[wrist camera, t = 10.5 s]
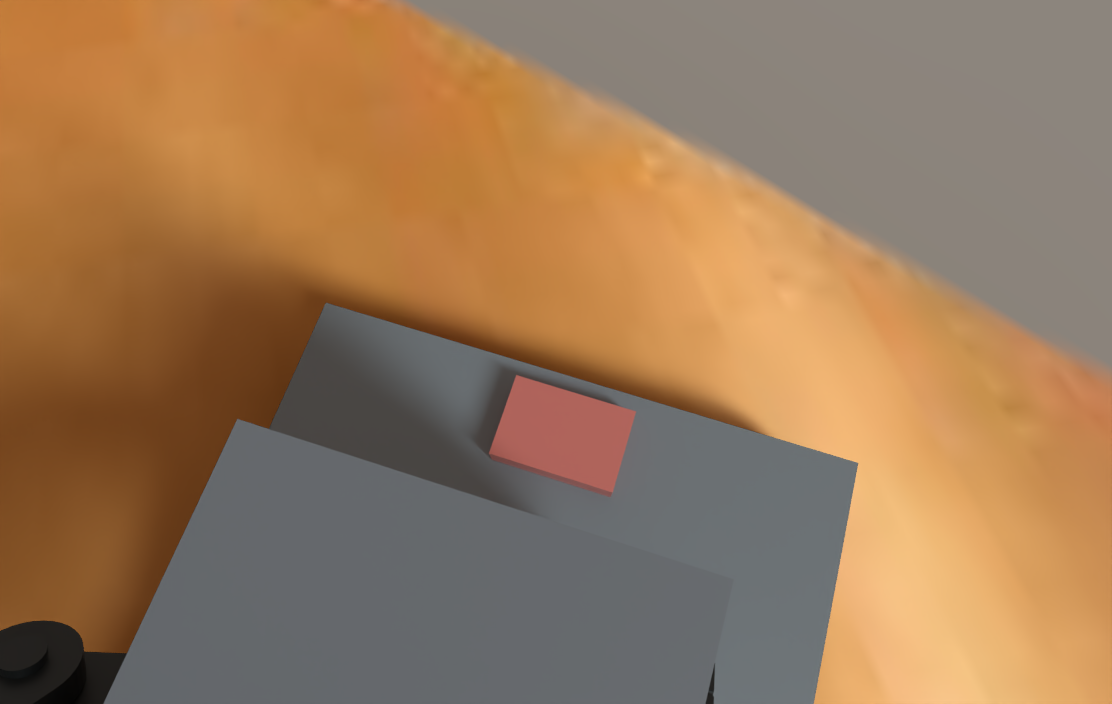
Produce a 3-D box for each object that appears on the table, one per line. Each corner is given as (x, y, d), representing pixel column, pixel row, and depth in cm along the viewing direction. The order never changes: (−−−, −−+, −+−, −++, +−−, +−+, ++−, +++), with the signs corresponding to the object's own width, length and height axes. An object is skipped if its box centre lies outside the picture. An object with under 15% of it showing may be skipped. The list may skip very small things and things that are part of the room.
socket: (132, 862, 18) (24, 926, 14) (355, 341, 22) (316, 290, 19) (695, 1084, 16) (734, 1218, 13) (817, 482, 21) (871, 457, 17)
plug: (372, 735, 18) (-46, 1019, 5) (442, 539, 19) (237, 419, 7) (562, 804, 17) (573, 1287, 5) (619, 598, 19) (733, 579, 6)
